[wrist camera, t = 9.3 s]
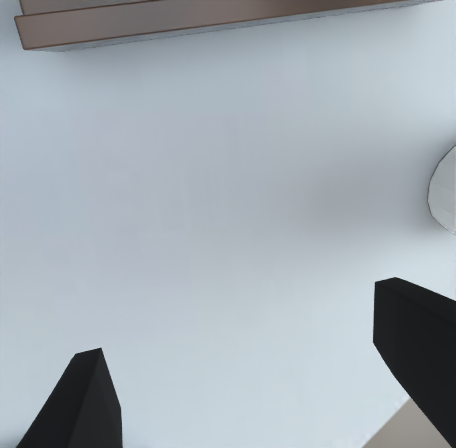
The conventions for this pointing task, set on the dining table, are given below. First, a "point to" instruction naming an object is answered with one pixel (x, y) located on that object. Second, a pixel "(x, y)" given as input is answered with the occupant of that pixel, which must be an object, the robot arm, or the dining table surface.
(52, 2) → the shelf
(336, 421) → the dining table surface
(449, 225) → the white cup
